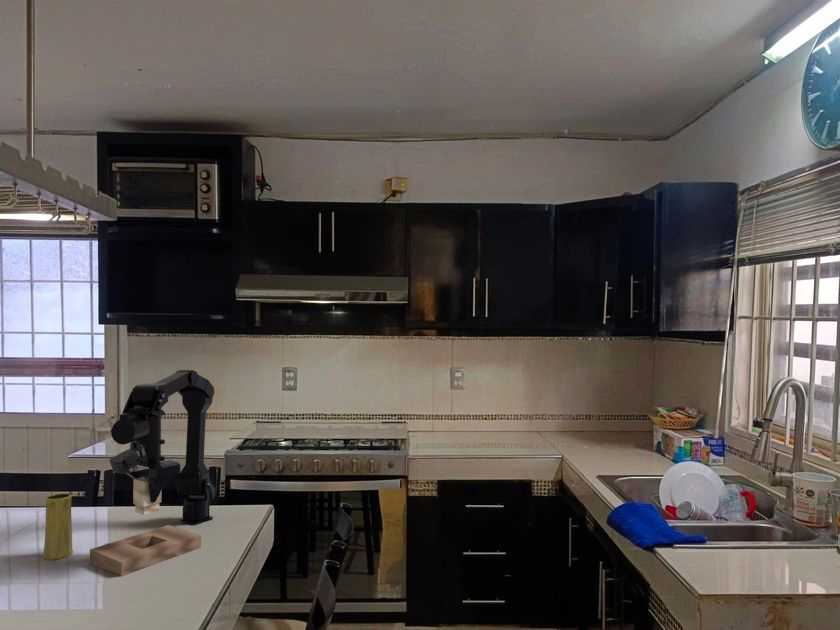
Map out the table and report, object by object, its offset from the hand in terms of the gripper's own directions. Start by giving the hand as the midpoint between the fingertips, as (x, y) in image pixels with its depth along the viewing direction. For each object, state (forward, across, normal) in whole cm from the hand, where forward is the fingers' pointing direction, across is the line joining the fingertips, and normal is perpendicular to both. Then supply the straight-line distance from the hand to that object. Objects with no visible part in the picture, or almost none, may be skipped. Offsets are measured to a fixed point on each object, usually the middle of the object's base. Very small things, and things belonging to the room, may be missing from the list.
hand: (147, 500), depth 137 cm
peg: (+2, 0, 0) cm, 3 cm away
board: (+13, 0, 0) cm, 13 cm away
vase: (+13, -18, -12) cm, 25 cm away
